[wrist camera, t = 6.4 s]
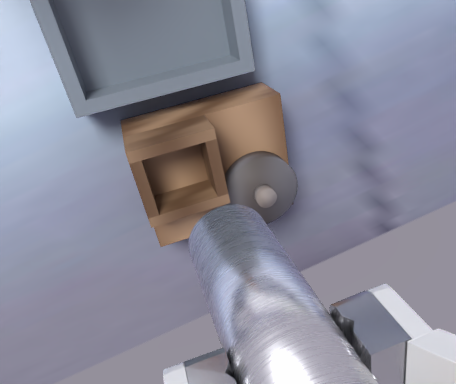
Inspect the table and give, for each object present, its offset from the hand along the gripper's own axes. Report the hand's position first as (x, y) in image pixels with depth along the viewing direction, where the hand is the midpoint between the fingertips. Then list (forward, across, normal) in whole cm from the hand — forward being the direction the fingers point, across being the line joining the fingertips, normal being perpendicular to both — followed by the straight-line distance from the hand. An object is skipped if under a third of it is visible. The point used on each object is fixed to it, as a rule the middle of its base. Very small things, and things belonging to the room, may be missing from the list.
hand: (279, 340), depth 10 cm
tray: (+25, -1, -7) cm, 26 cm away
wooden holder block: (+25, -3, +6) cm, 26 cm away
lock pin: (+5, 0, 0) cm, 5 cm away
